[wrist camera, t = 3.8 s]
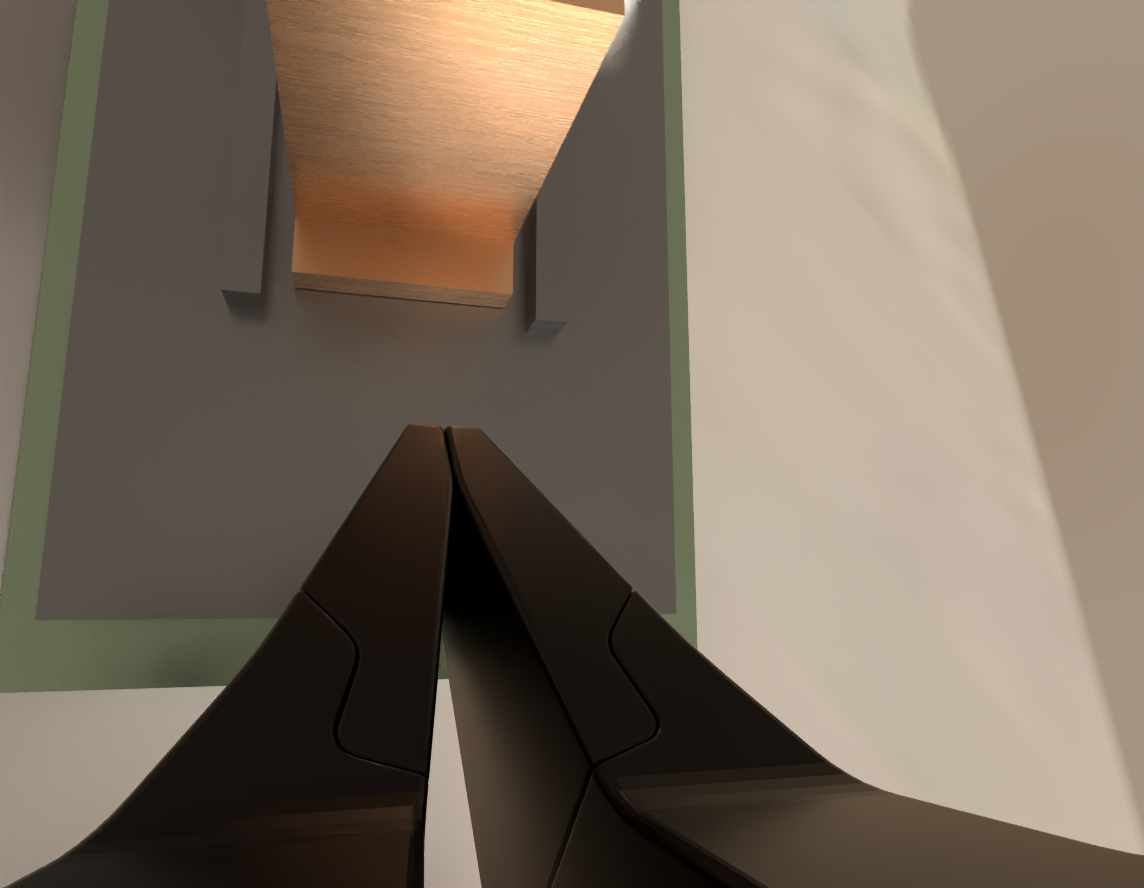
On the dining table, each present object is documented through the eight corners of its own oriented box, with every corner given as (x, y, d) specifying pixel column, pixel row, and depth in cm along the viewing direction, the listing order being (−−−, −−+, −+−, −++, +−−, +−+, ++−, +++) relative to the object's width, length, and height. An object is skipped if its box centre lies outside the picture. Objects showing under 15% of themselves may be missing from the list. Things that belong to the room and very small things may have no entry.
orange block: (504, 308, 20) (625, 97, 11) (294, 287, 18) (250, 29, 10) (508, 25, 21) (619, -353, 13) (314, -13, 20) (291, -464, 11)
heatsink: (689, 668, 21) (782, 690, 17) (-1, 690, 17) (-127, 727, 12) (668, -128, 26) (737, -278, 21) (119, -273, 21) (59, -499, 17)
